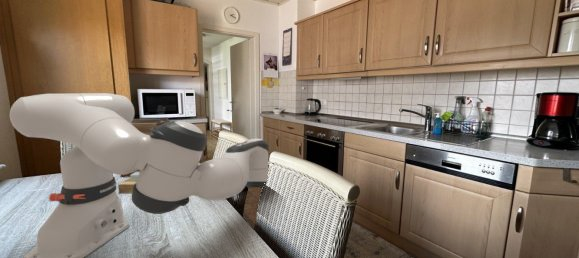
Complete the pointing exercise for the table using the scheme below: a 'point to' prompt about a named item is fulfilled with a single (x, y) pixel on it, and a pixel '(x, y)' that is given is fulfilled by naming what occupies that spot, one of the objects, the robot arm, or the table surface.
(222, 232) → the table surface
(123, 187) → the board
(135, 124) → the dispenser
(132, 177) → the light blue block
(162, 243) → the table surface
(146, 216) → the table surface
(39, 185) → the table surface
